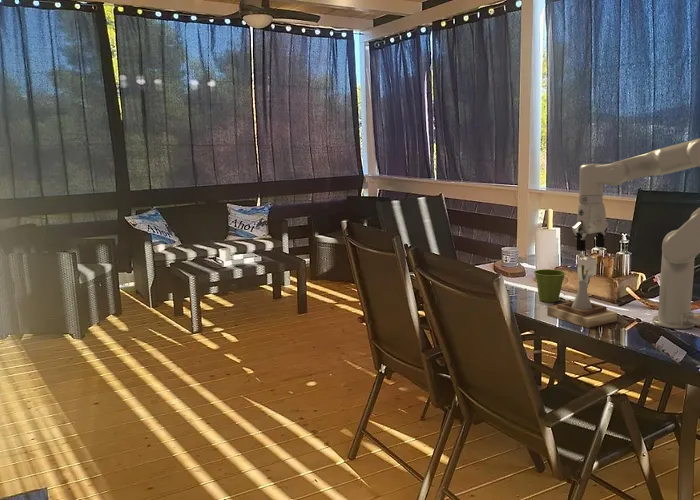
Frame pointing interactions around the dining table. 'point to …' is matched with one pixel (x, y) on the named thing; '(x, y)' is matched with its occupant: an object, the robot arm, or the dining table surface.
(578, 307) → the flask
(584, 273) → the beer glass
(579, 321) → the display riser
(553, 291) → the plant pot
